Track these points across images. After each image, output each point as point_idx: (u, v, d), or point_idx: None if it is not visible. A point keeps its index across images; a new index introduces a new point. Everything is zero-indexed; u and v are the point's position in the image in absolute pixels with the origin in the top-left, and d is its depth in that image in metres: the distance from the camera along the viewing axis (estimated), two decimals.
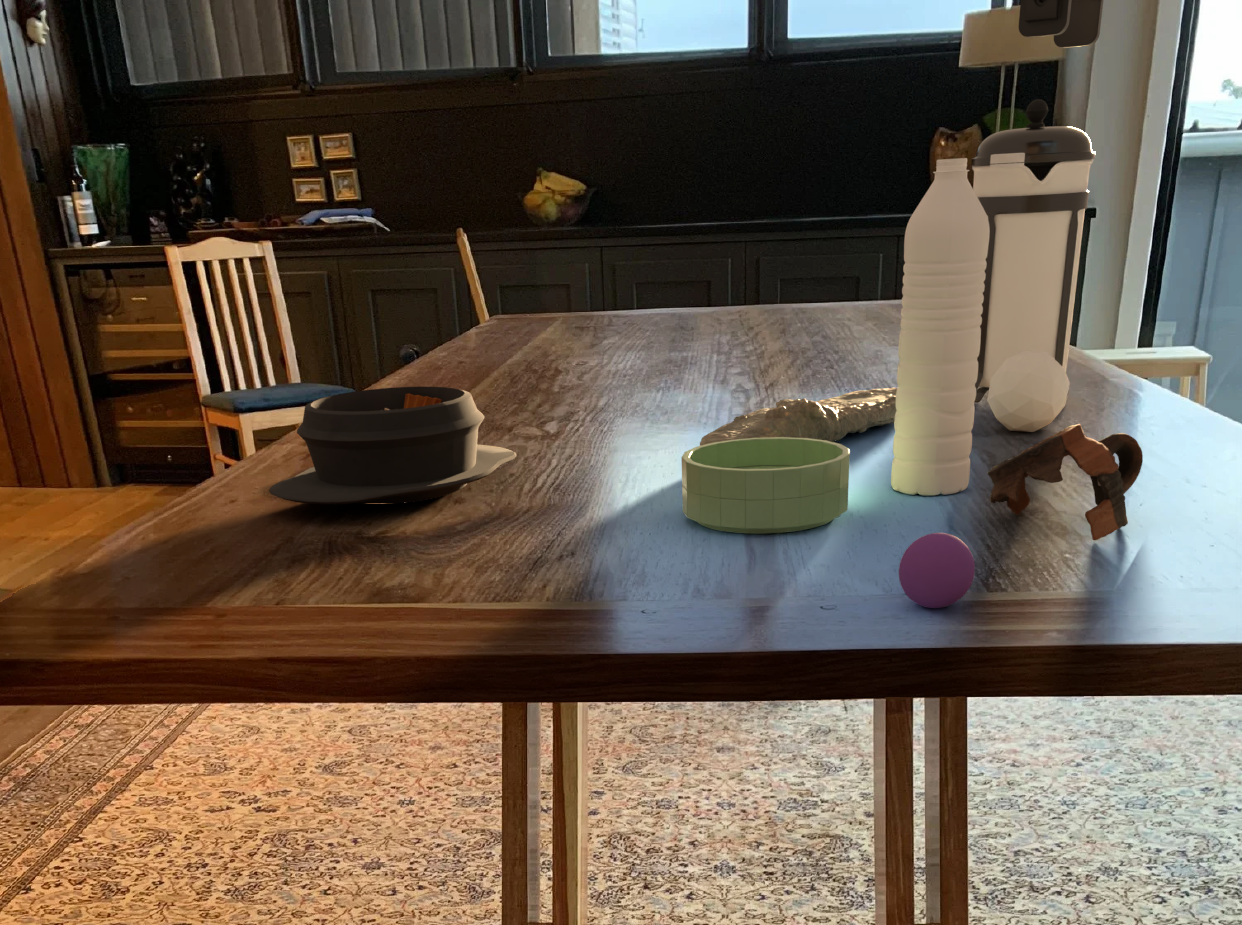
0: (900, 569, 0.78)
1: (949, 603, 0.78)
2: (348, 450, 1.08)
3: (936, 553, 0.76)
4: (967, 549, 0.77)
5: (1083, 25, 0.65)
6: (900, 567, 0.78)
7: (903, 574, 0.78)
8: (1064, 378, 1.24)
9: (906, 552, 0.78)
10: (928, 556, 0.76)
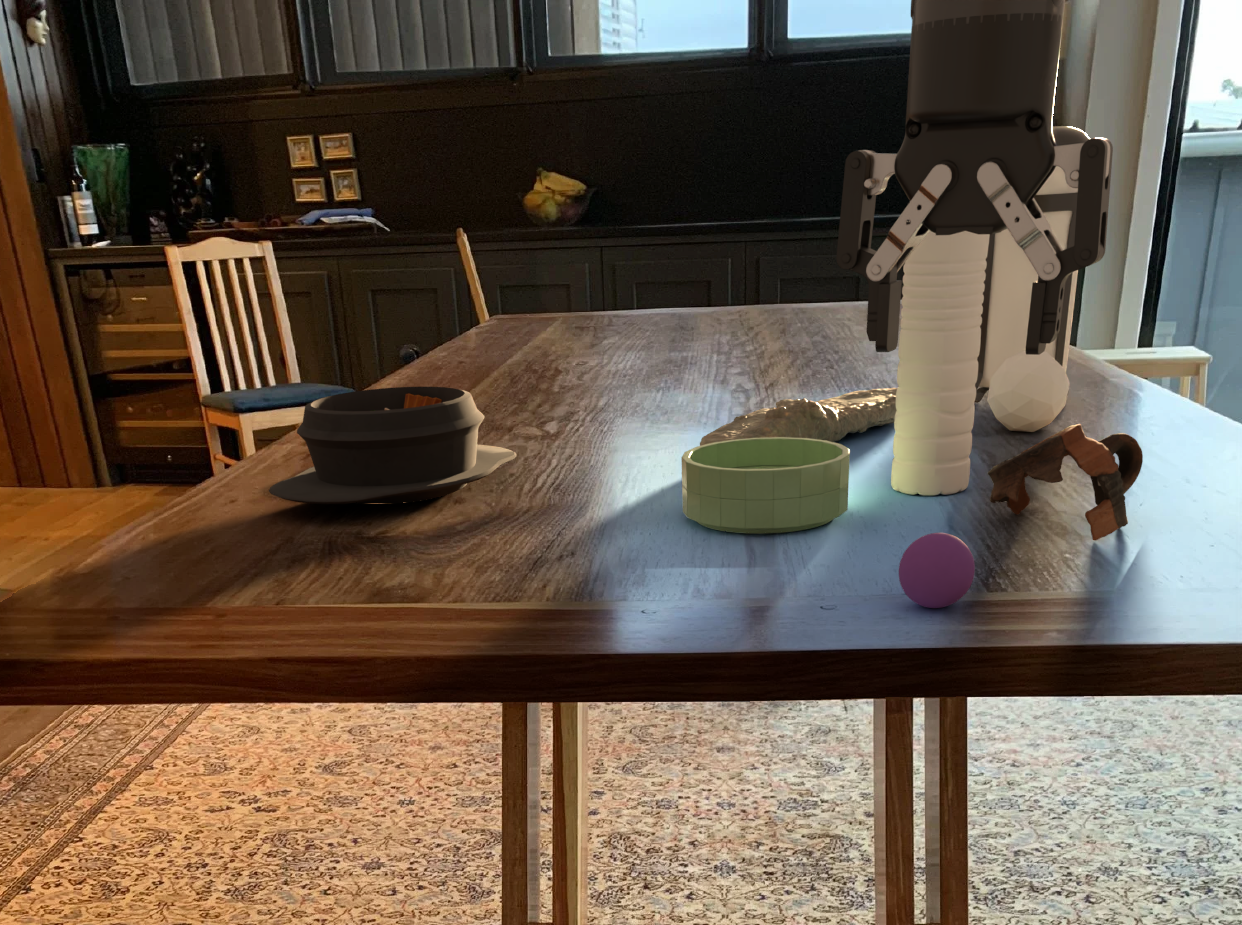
0: (900, 569, 0.78)
1: (949, 603, 0.78)
2: (348, 450, 1.08)
3: (936, 553, 0.76)
4: (967, 549, 0.77)
5: (894, 334, 0.73)
6: (900, 567, 0.78)
7: (903, 574, 0.78)
8: (1064, 378, 1.24)
9: (906, 552, 0.78)
10: (928, 556, 0.76)
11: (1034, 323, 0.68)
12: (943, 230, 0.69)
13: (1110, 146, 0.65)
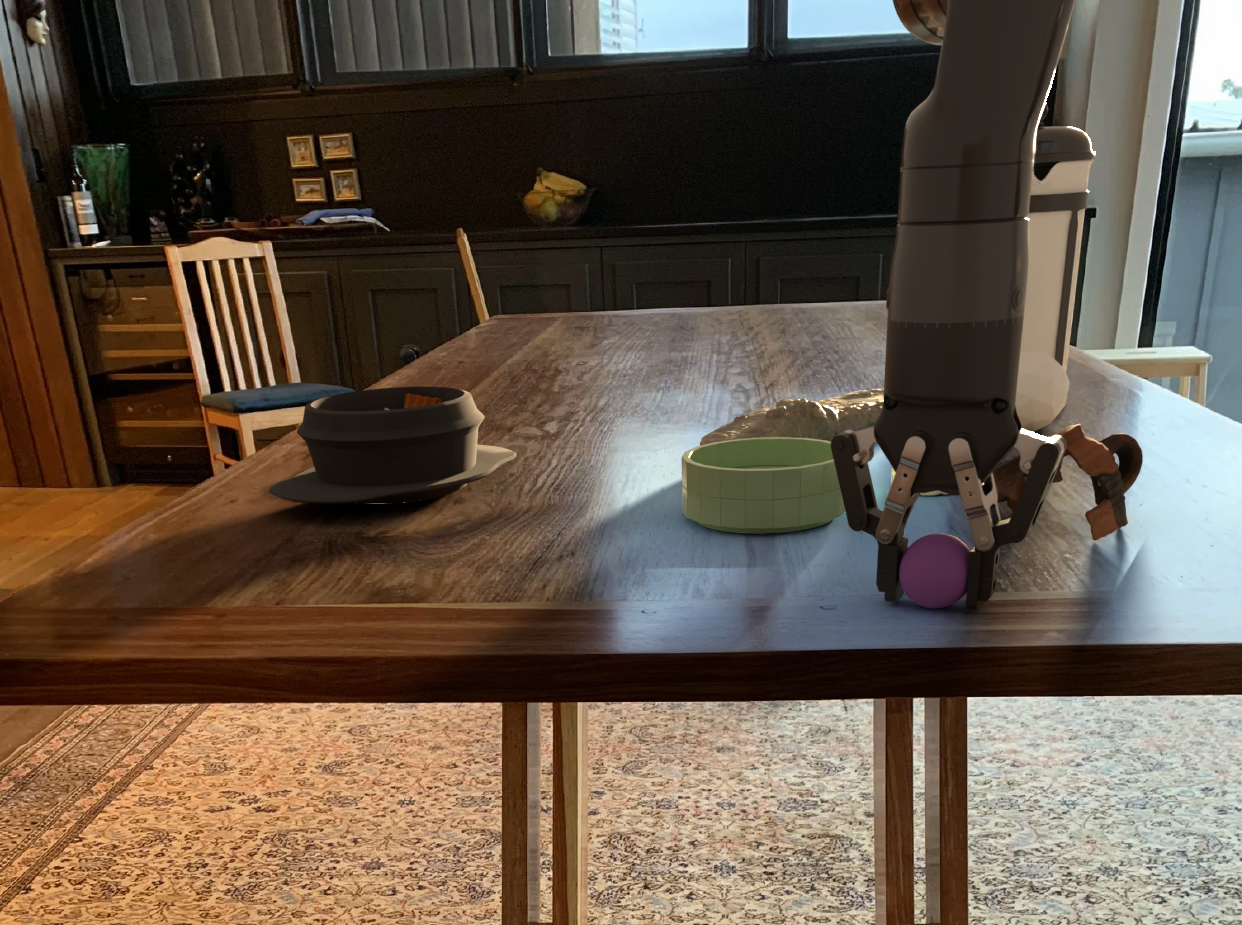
0: (900, 569, 0.78)
1: (949, 603, 0.78)
2: (348, 450, 1.08)
3: (936, 553, 0.76)
4: (967, 549, 0.77)
5: None
6: (900, 567, 0.78)
7: (903, 574, 0.78)
8: (1064, 378, 1.24)
9: (906, 552, 0.78)
10: (928, 556, 0.76)
11: (972, 585, 0.76)
12: (919, 489, 0.76)
13: (1064, 448, 0.72)
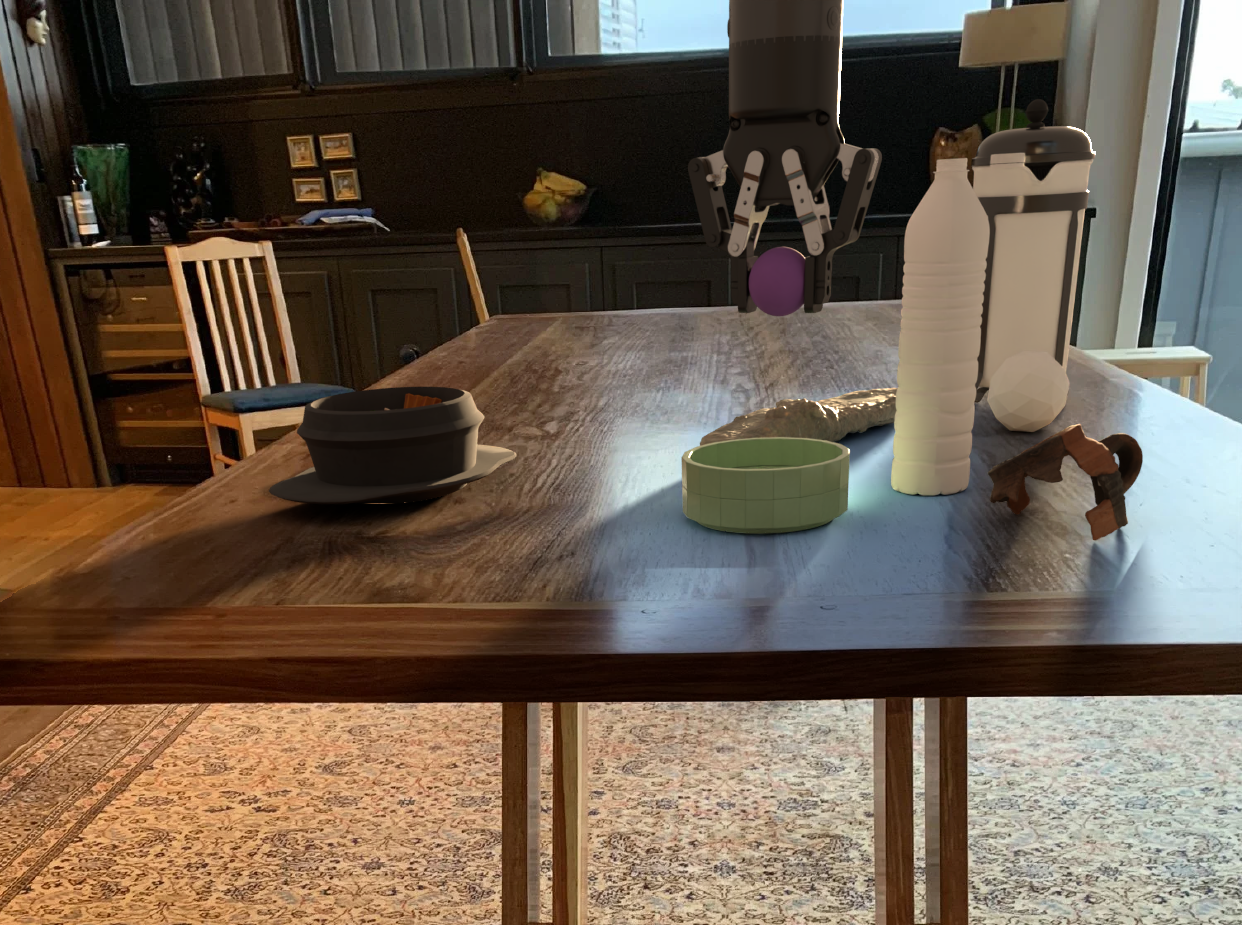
0: (749, 280, 0.91)
1: (790, 308, 0.90)
2: (348, 450, 1.08)
3: (777, 260, 0.89)
4: (804, 259, 0.90)
5: None
6: (749, 278, 0.91)
7: (751, 283, 0.90)
8: (1064, 378, 1.24)
9: (754, 264, 0.90)
10: (770, 262, 0.89)
11: (808, 288, 0.89)
12: (762, 202, 0.88)
13: (879, 158, 0.85)
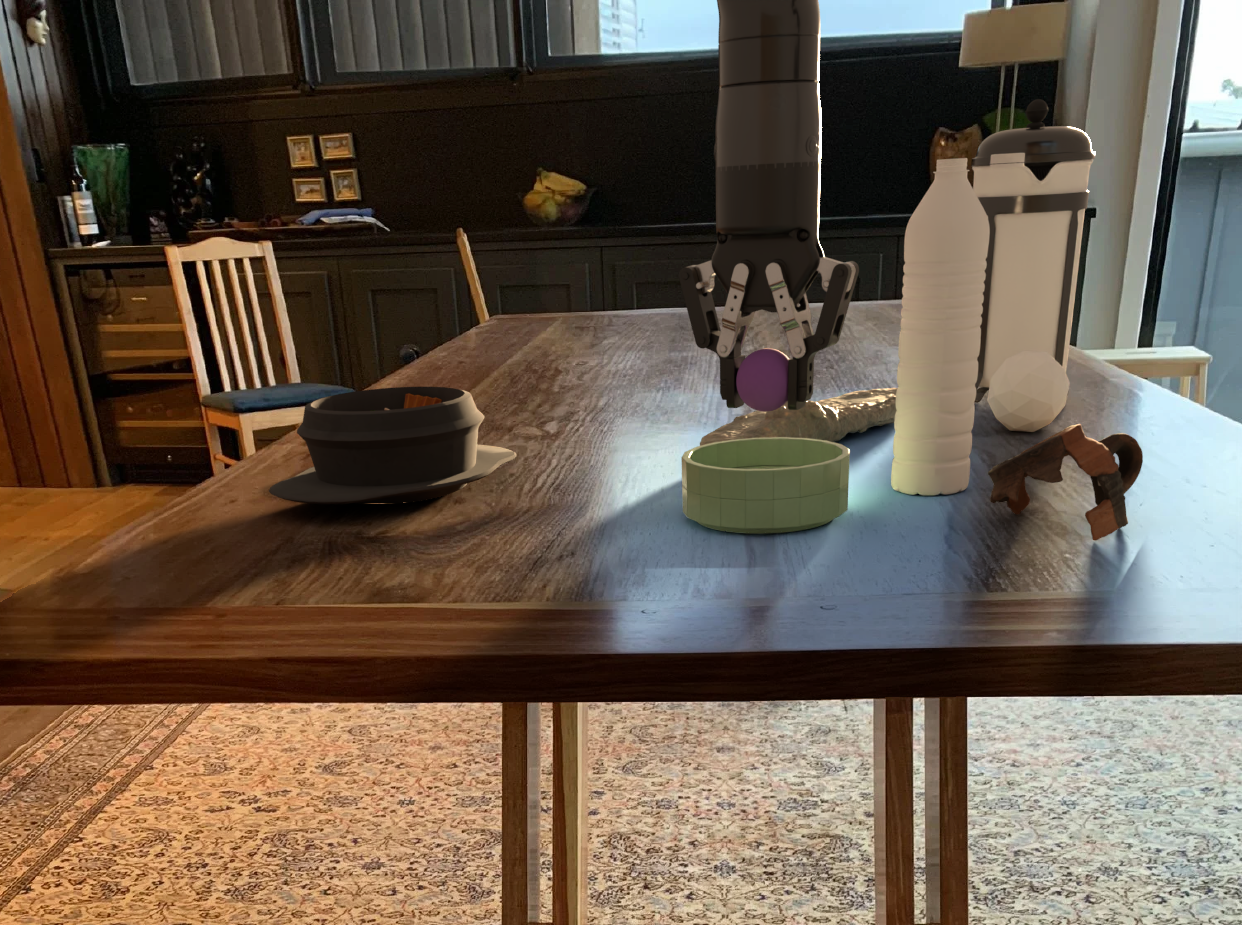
0: (736, 378, 0.97)
1: (775, 405, 0.97)
2: (348, 450, 1.08)
3: (762, 361, 0.95)
4: None
5: None
6: (736, 377, 0.97)
7: (738, 382, 0.97)
8: (1064, 378, 1.24)
9: (741, 364, 0.97)
10: (756, 364, 0.95)
11: (792, 388, 0.95)
12: (748, 309, 0.95)
13: (856, 270, 0.91)
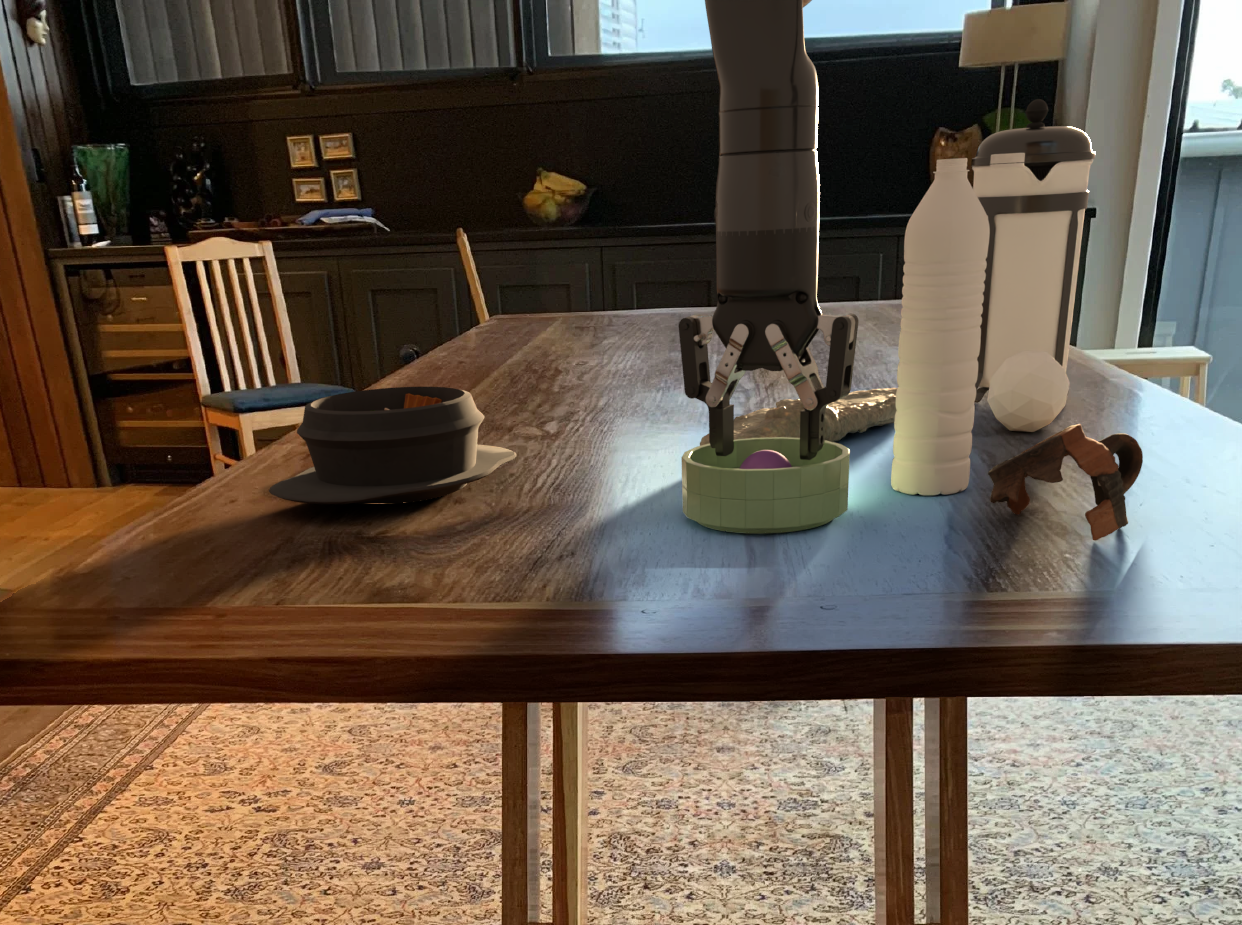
0: None
1: None
2: (348, 450, 1.08)
3: (761, 464, 0.98)
4: (787, 462, 0.99)
5: (730, 442, 1.01)
6: None
7: None
8: (1064, 378, 1.24)
9: (741, 465, 1.00)
10: (755, 466, 0.99)
11: (803, 439, 0.97)
12: (748, 367, 0.96)
13: (855, 321, 0.93)
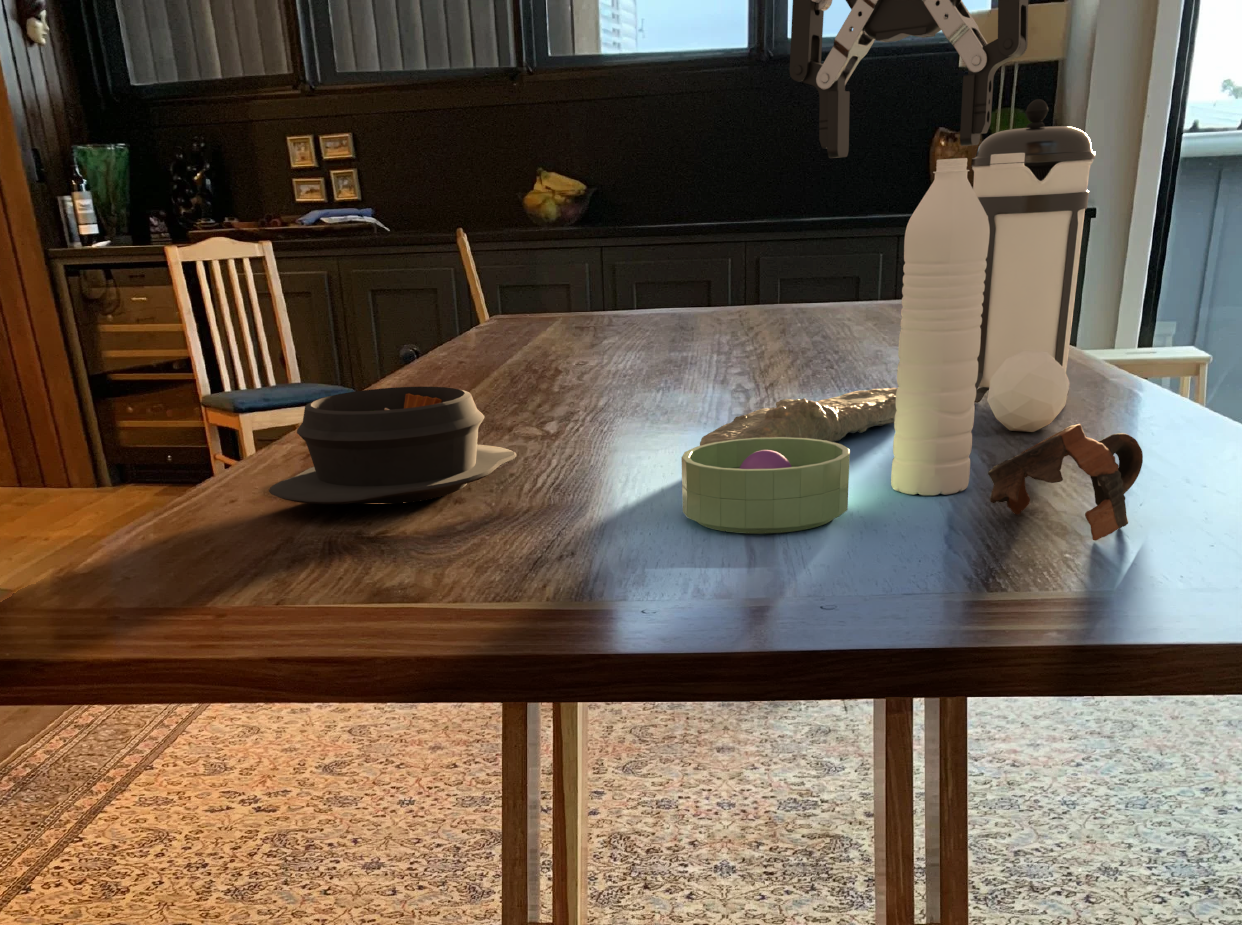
0: None
1: None
2: (348, 450, 1.08)
3: (761, 464, 0.98)
4: (786, 462, 0.99)
5: (844, 141, 0.81)
6: None
7: None
8: (1064, 378, 1.24)
9: (741, 465, 1.00)
10: (755, 467, 0.99)
11: (966, 114, 0.76)
12: (883, 35, 0.77)
13: None
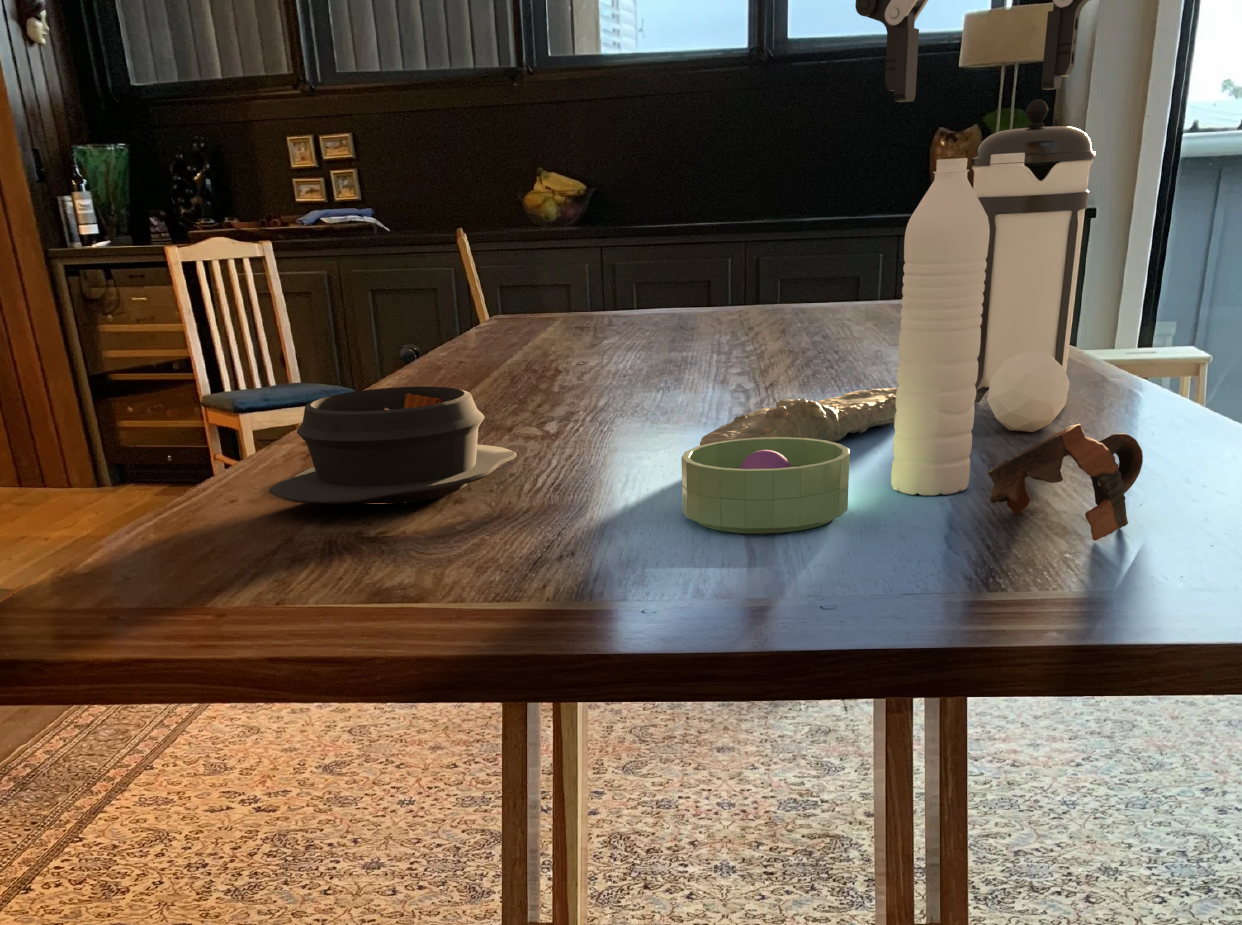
0: None
1: None
2: (348, 450, 1.08)
3: (761, 465, 0.98)
4: (786, 462, 0.99)
5: (912, 84, 0.75)
6: None
7: None
8: (1064, 378, 1.24)
9: None
10: (755, 467, 0.99)
11: (1050, 54, 0.70)
12: None
13: None
